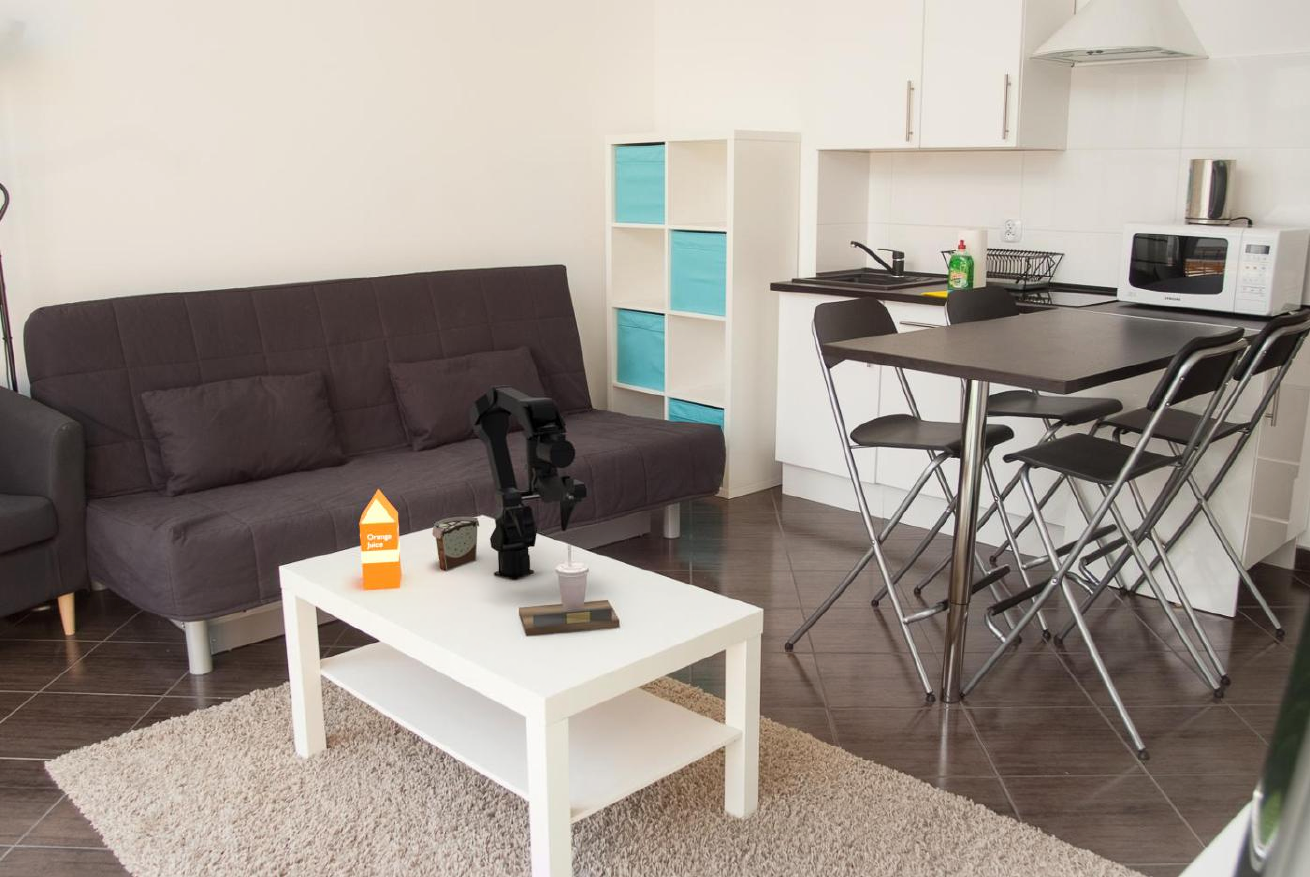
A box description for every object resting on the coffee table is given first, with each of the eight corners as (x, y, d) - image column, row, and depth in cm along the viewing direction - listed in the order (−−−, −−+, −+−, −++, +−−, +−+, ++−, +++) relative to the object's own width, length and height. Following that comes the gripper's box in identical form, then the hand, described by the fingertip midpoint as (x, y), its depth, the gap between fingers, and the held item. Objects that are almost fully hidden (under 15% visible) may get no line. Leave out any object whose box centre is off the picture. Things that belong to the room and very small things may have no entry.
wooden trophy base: (519, 614, 233) (518, 595, 232) (607, 606, 236) (607, 588, 236) (526, 636, 221) (525, 616, 220) (619, 628, 225) (619, 608, 224)
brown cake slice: (461, 554, 272) (459, 513, 270) (480, 559, 269) (479, 517, 267) (422, 568, 263) (420, 525, 261) (441, 573, 259) (439, 529, 257)
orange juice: (402, 575, 258) (397, 487, 254) (400, 588, 249) (395, 497, 245) (365, 577, 257) (360, 489, 253) (362, 590, 248) (357, 499, 244)
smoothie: (565, 607, 232) (563, 539, 229) (595, 611, 230) (593, 542, 227) (551, 618, 226) (549, 548, 223) (582, 622, 224) (580, 551, 221)
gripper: (510, 472, 228) (514, 549, 231) (598, 462, 236) (600, 536, 239) (492, 462, 238) (495, 536, 241) (576, 452, 246) (578, 524, 249)
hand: (543, 533), depth 242 cm, fingers open, 9 cm apart
